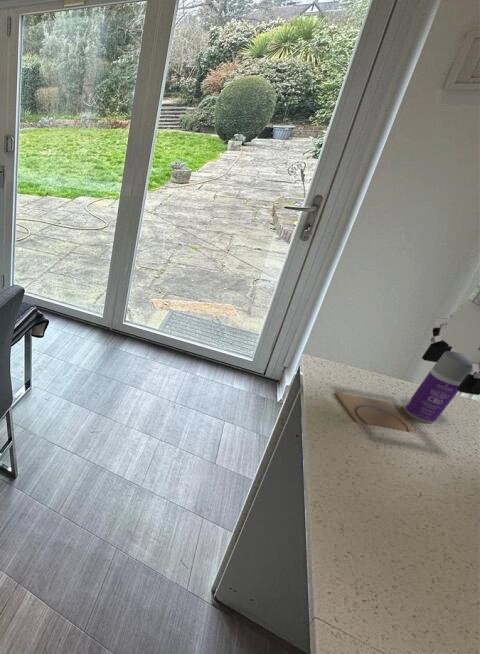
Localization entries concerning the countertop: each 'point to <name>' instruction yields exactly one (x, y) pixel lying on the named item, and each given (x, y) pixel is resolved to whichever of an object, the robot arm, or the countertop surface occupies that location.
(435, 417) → the container
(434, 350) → the robot arm
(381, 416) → the coaster
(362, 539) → the countertop surface
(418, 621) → the countertop surface
